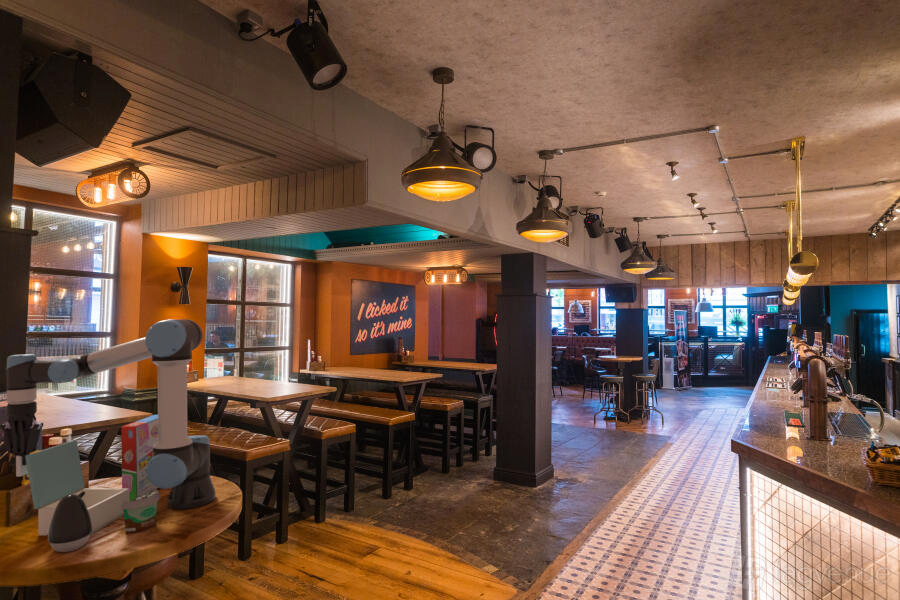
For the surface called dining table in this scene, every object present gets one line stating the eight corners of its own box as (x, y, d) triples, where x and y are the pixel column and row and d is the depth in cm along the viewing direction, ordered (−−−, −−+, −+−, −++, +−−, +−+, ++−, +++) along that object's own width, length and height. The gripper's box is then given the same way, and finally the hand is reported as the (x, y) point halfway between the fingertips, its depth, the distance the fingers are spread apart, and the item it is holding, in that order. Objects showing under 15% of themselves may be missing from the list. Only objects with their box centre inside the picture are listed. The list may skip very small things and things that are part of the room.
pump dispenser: (101, 539, 152) (100, 488, 152) (74, 556, 141) (73, 501, 142) (67, 540, 152) (67, 488, 153) (38, 556, 142) (38, 501, 142)
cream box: (129, 512, 173) (129, 488, 173) (88, 535, 155) (88, 509, 155) (84, 512, 174) (84, 488, 174) (38, 535, 156) (38, 508, 156)
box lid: (76, 439, 175) (73, 440, 175) (28, 455, 156) (25, 455, 156) (84, 487, 174) (81, 488, 174) (37, 508, 156) (34, 509, 156)
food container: (138, 537, 153) (138, 503, 153) (121, 535, 154) (121, 502, 155) (169, 520, 165) (169, 489, 166) (152, 519, 167) (152, 488, 167)
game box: (155, 483, 203) (154, 414, 203) (169, 483, 203) (168, 414, 203) (121, 503, 182) (120, 426, 182) (136, 502, 182) (136, 425, 182)
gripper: (50, 399, 170) (50, 471, 169) (13, 400, 171) (13, 471, 170) (30, 404, 162) (30, 478, 162) (-9, 404, 163) (-8, 479, 163)
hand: (22, 475), depth 166 cm, fingers closed
